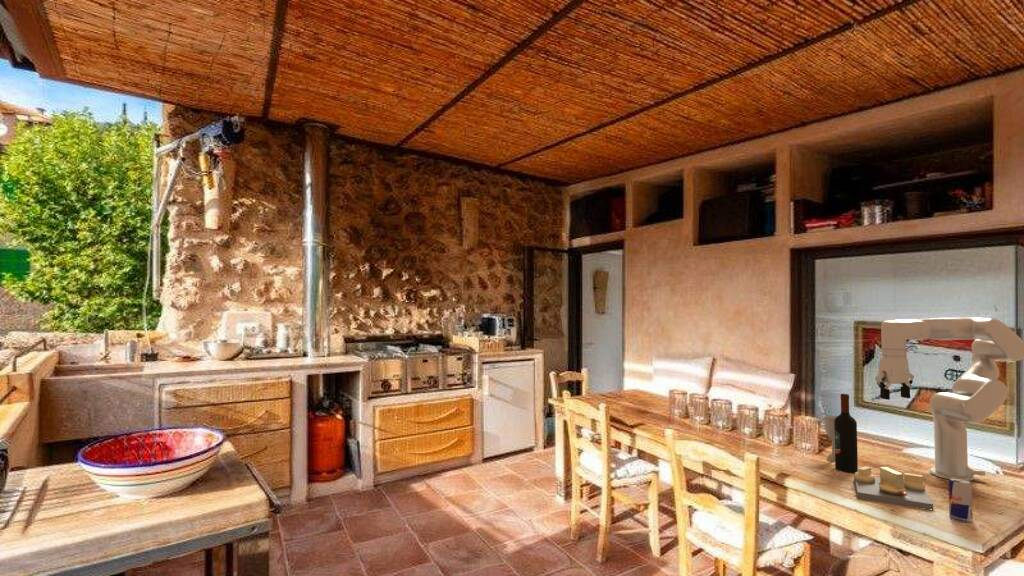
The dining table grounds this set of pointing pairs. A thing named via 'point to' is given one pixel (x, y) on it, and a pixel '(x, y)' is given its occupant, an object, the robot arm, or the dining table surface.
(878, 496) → the base
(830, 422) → the chalice
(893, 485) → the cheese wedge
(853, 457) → the wine bottle
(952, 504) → the energy drink
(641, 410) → the dining table surface
